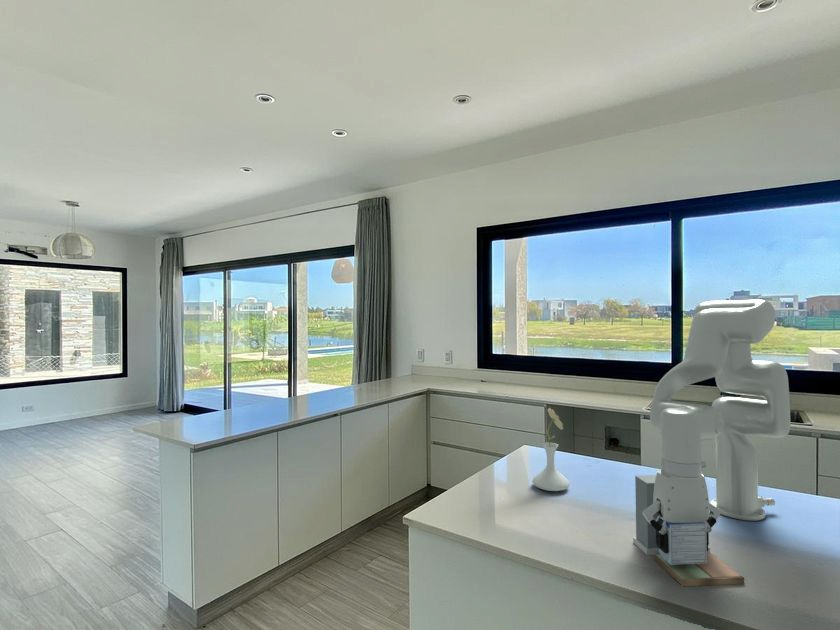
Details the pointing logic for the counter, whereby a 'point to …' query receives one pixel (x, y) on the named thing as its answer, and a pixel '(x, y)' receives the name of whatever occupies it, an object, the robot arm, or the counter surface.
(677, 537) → the medicine box
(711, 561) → the board
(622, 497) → the counter surface
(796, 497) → the counter surface
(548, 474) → the flower in vase
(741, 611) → the counter surface
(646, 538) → the cabinet
